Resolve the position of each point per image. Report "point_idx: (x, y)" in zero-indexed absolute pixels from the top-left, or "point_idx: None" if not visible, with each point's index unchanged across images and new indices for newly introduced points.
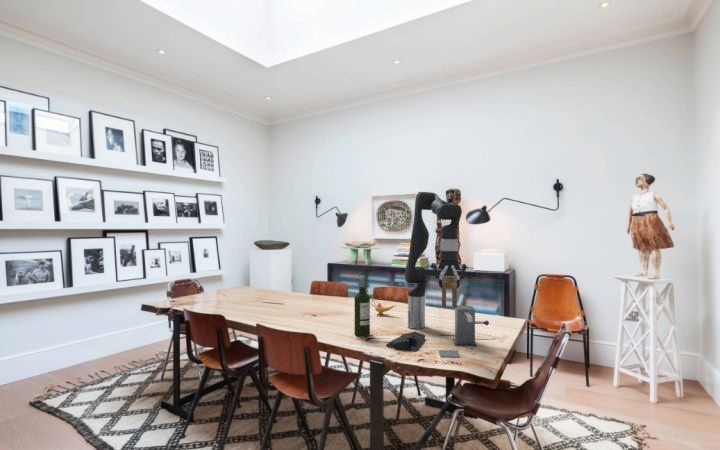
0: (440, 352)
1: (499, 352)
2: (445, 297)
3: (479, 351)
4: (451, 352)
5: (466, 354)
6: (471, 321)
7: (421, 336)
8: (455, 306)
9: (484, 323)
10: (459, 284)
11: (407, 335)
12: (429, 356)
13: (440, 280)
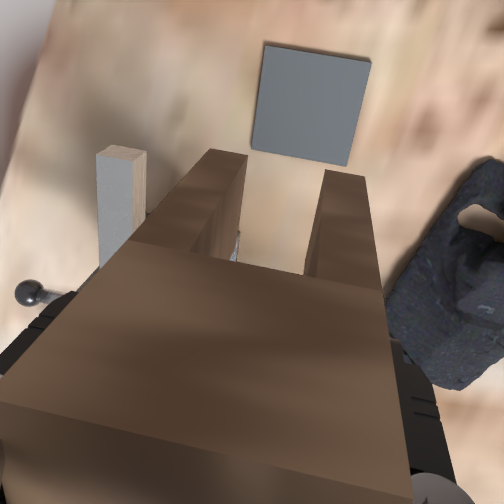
0: (352, 123)
1: (49, 121)
2: (330, 214)
3: (141, 141)
4: (291, 119)
5: (216, 100)
6: (117, 147)
7: (388, 328)
8: (220, 154)
9: (42, 288)
10: (35, 319)
11: (476, 327)
12: (433, 75)
13: (419, 469)
